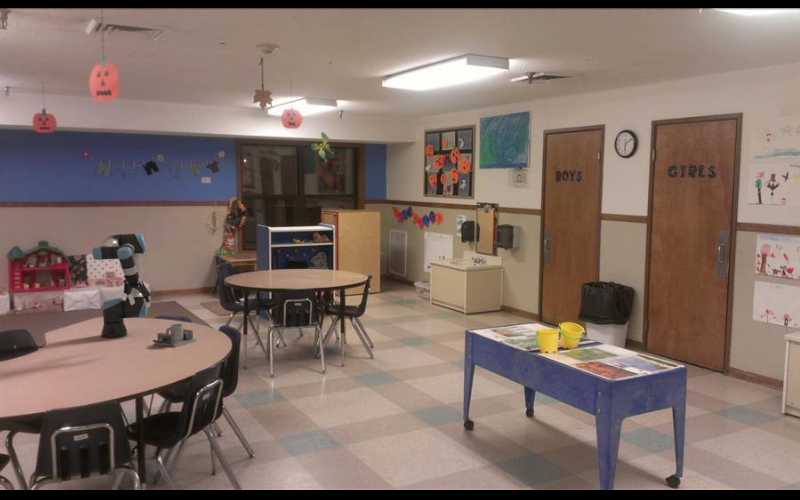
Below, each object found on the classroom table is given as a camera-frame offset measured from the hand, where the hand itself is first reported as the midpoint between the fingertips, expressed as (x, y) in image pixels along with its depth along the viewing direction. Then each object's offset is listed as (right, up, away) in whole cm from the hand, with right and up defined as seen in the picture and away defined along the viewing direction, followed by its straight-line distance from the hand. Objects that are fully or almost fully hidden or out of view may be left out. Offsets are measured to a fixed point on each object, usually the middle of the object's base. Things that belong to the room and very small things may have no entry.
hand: (140, 305), depth 376 cm
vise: (+16, -24, +7) cm, 29 cm away
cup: (+17, -22, +10) cm, 29 cm away
